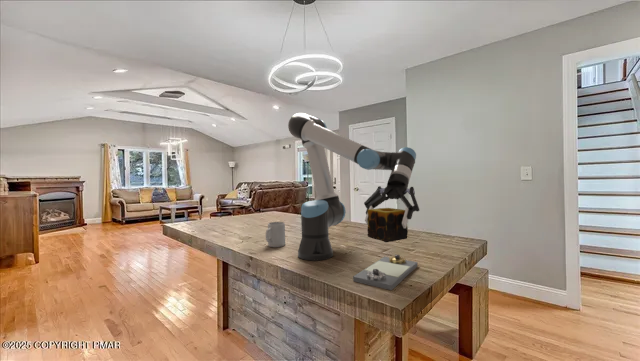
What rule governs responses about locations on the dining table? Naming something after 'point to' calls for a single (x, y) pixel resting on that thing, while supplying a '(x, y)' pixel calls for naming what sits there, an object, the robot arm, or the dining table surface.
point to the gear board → (386, 272)
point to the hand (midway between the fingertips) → (384, 224)
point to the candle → (386, 224)
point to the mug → (275, 234)
